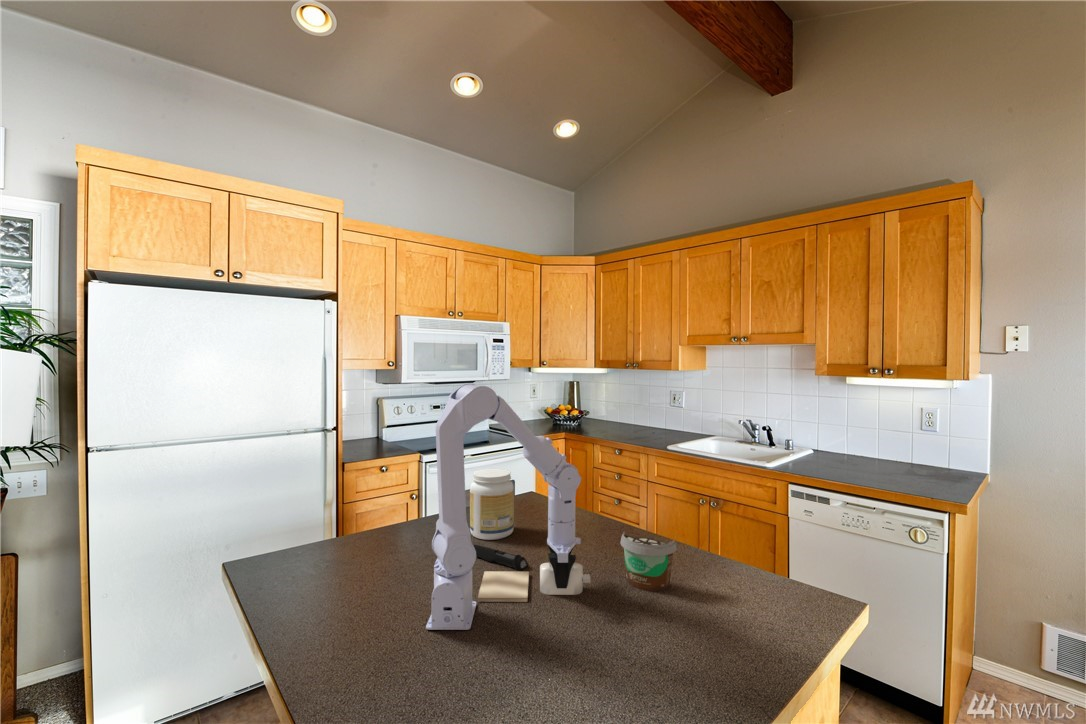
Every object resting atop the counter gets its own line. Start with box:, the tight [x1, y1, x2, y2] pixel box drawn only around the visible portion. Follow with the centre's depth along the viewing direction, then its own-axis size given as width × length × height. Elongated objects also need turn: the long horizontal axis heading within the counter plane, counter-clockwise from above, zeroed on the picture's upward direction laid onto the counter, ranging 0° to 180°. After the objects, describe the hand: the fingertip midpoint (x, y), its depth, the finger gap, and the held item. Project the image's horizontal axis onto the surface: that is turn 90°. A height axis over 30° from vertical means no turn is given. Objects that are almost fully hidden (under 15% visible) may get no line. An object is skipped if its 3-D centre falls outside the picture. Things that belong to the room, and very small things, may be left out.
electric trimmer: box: [473, 544, 529, 571], centre depth 118 cm, size 4×16×3 cm, turn 56°
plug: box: [539, 562, 592, 596], centre depth 103 cm, size 11×4×5 cm, turn 90°
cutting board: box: [477, 570, 530, 603], centre depth 104 cm, size 12×10×1 cm
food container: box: [620, 530, 678, 592], centre depth 105 cm, size 12×6×10 cm, turn 62°
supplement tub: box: [469, 468, 515, 541], centre depth 136 cm, size 12×12×17 cm
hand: (561, 582), depth 103 cm, fingers closed on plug, 4 cm apart
